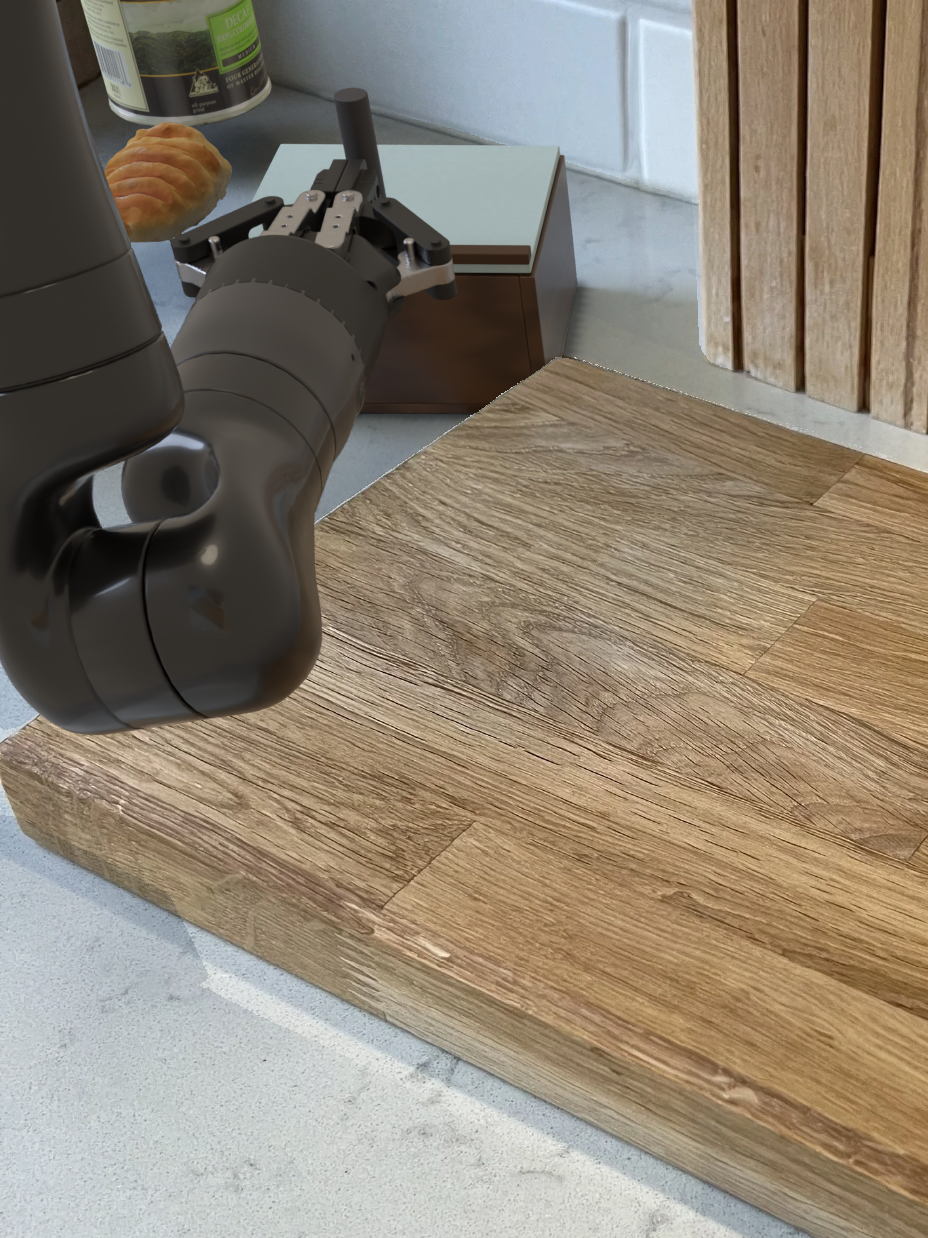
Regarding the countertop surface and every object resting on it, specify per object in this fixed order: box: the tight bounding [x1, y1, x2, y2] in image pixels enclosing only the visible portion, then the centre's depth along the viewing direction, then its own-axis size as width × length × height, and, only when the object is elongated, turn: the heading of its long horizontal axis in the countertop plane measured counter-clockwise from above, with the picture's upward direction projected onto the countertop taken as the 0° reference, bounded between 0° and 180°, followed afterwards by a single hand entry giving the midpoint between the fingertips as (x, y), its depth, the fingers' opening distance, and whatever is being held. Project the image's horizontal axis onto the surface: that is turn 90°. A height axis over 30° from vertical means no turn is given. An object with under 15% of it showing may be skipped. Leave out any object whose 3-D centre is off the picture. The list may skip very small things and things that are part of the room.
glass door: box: [249, 87, 561, 273], centre depth 90 cm, size 16×14×8 cm
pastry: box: [104, 122, 233, 244], centre depth 100 cm, size 9×7×4 cm
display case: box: [359, 154, 578, 414], centre depth 96 cm, size 16×14×8 cm
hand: (353, 178), depth 84 cm, fingers closed
